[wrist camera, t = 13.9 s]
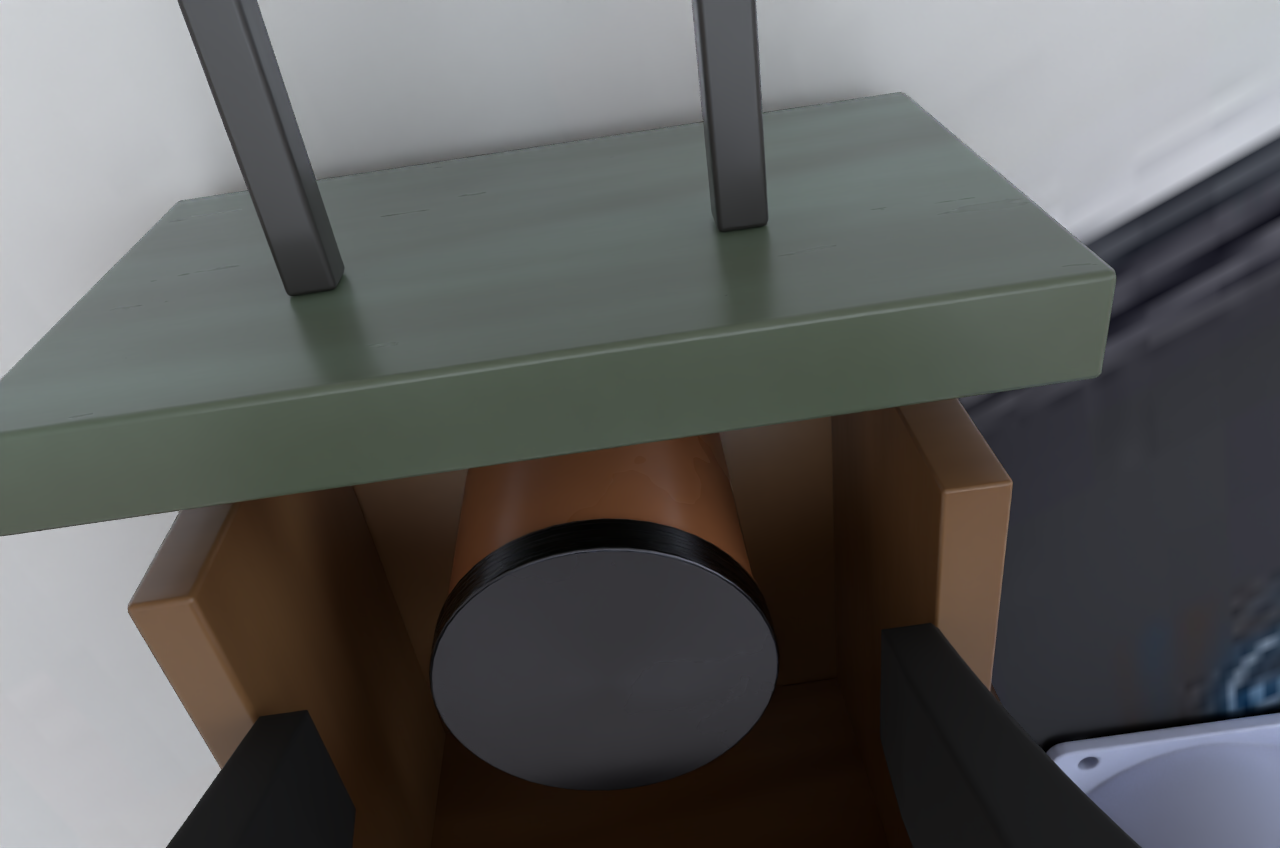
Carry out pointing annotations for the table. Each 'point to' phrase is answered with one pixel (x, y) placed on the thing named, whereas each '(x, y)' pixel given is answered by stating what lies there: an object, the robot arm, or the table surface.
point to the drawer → (558, 420)
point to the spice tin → (603, 618)
